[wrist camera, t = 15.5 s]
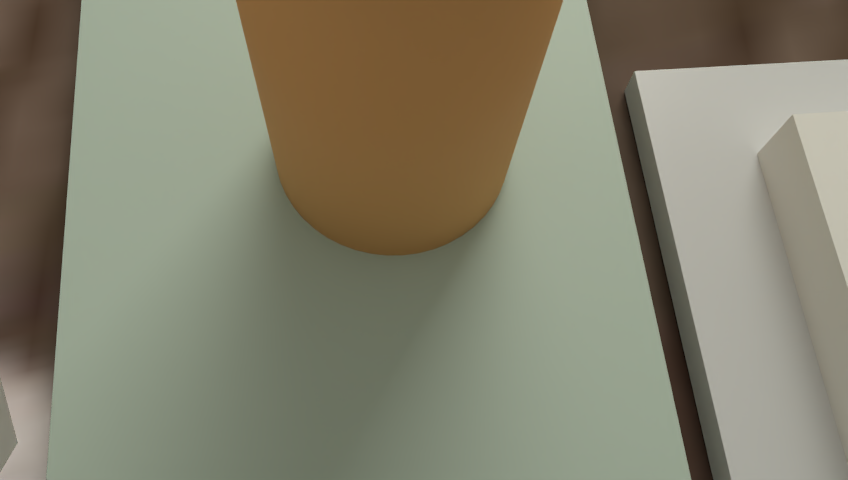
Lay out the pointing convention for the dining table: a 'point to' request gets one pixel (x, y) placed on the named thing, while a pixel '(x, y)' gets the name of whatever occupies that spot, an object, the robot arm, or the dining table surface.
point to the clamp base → (755, 255)
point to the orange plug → (395, 109)
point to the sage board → (339, 290)
